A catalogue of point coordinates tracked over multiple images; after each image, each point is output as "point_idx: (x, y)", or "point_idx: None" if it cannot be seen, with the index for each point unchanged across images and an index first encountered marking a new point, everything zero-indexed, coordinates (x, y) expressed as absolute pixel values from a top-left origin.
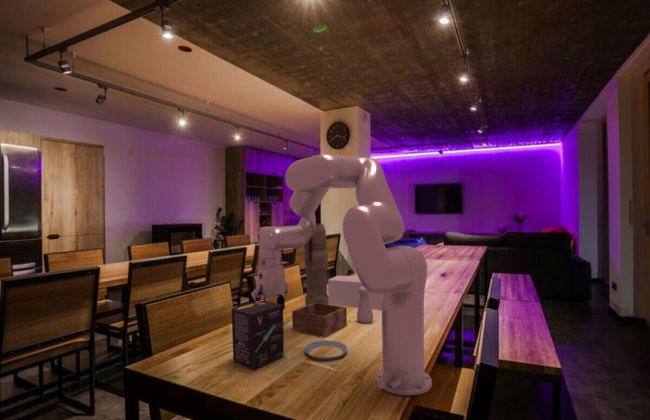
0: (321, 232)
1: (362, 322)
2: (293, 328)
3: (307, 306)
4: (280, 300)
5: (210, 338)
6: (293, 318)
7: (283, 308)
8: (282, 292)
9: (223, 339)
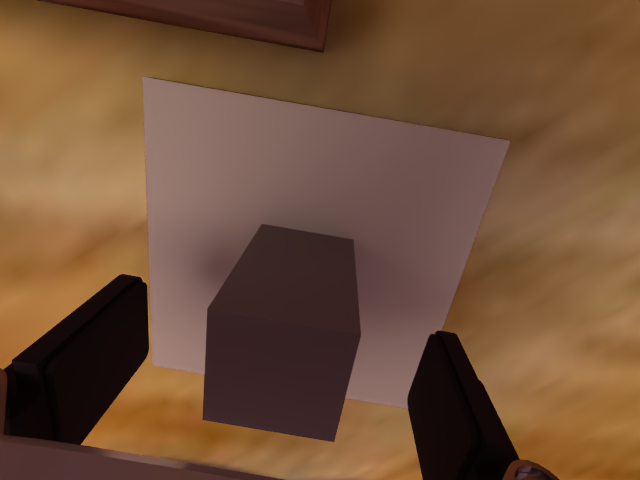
0: None
1: None
2: (323, 34)
3: None
4: (82, 384)
5: (581, 465)
6: (318, 6)
7: (136, 283)
8: (1, 472)
9: (586, 407)
